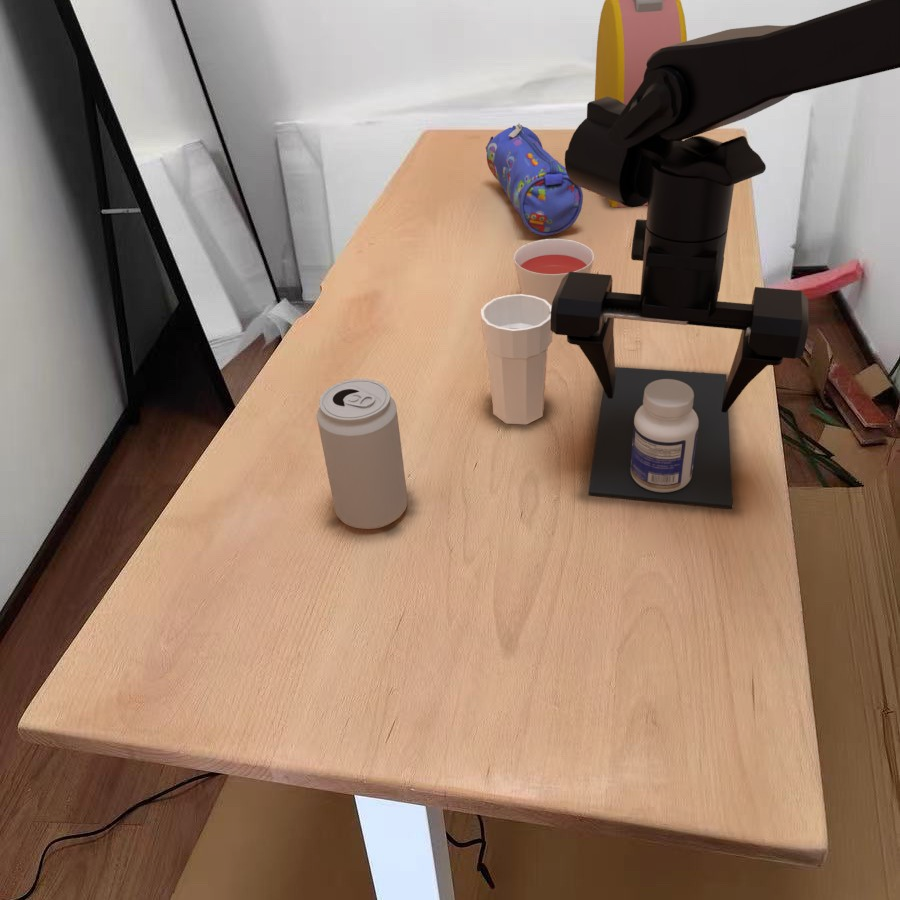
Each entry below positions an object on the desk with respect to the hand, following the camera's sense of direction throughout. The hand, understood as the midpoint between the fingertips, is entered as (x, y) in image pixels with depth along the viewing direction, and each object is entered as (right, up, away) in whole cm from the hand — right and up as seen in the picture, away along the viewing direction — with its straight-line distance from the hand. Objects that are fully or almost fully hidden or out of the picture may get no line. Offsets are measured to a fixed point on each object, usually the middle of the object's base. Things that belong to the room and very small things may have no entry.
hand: (666, 402), depth 72 cm
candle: (-6, +13, +30) cm, 33 cm away
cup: (-11, 0, +14) cm, 18 cm away
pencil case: (-6, +31, +52) cm, 61 cm away
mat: (+2, -2, +10) cm, 10 cm away
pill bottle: (+1, -6, +4) cm, 8 cm away
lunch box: (+9, +37, +59) cm, 70 cm away
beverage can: (-25, -9, +4) cm, 27 cm away
